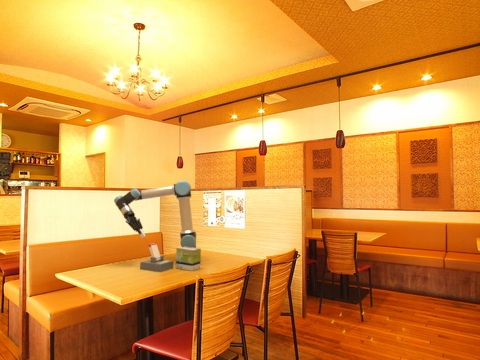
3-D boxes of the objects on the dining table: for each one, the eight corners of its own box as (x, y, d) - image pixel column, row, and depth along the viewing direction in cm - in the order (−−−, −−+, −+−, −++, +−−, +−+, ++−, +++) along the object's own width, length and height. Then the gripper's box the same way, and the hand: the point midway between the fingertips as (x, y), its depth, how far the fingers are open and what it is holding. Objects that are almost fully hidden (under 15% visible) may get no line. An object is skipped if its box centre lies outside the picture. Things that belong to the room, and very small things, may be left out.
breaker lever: (153, 262, 214) (147, 244, 217) (159, 260, 220) (153, 243, 223) (156, 260, 213) (150, 243, 217) (161, 259, 219) (156, 242, 222)
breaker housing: (140, 269, 214) (140, 257, 214) (153, 265, 227) (153, 254, 227) (160, 272, 206) (161, 259, 207) (173, 268, 219) (173, 256, 220)
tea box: (175, 268, 218) (175, 247, 219) (184, 266, 227) (184, 246, 227) (192, 271, 211) (192, 249, 212) (200, 268, 220) (201, 247, 220)
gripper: (131, 216, 238) (147, 239, 230) (118, 216, 226) (134, 241, 218) (136, 209, 236) (152, 232, 228) (124, 209, 224) (140, 234, 216)
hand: (143, 236), depth 223 cm, fingers closed
